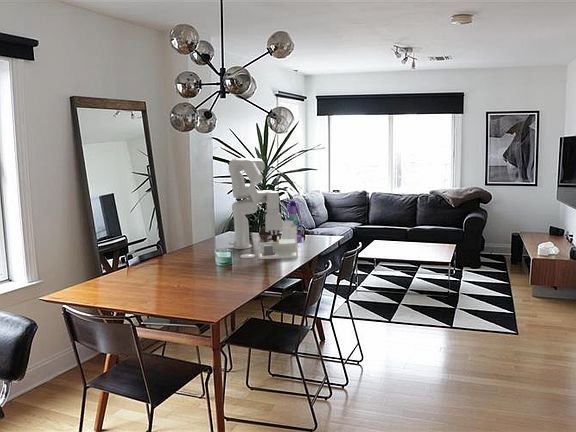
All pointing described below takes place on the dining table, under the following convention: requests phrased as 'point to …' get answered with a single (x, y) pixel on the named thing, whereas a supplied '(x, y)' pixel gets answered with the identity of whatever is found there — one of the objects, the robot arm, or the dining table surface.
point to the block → (268, 250)
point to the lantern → (294, 217)
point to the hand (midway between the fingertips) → (274, 240)
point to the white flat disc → (247, 256)
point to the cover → (285, 242)
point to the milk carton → (289, 230)
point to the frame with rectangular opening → (278, 251)
